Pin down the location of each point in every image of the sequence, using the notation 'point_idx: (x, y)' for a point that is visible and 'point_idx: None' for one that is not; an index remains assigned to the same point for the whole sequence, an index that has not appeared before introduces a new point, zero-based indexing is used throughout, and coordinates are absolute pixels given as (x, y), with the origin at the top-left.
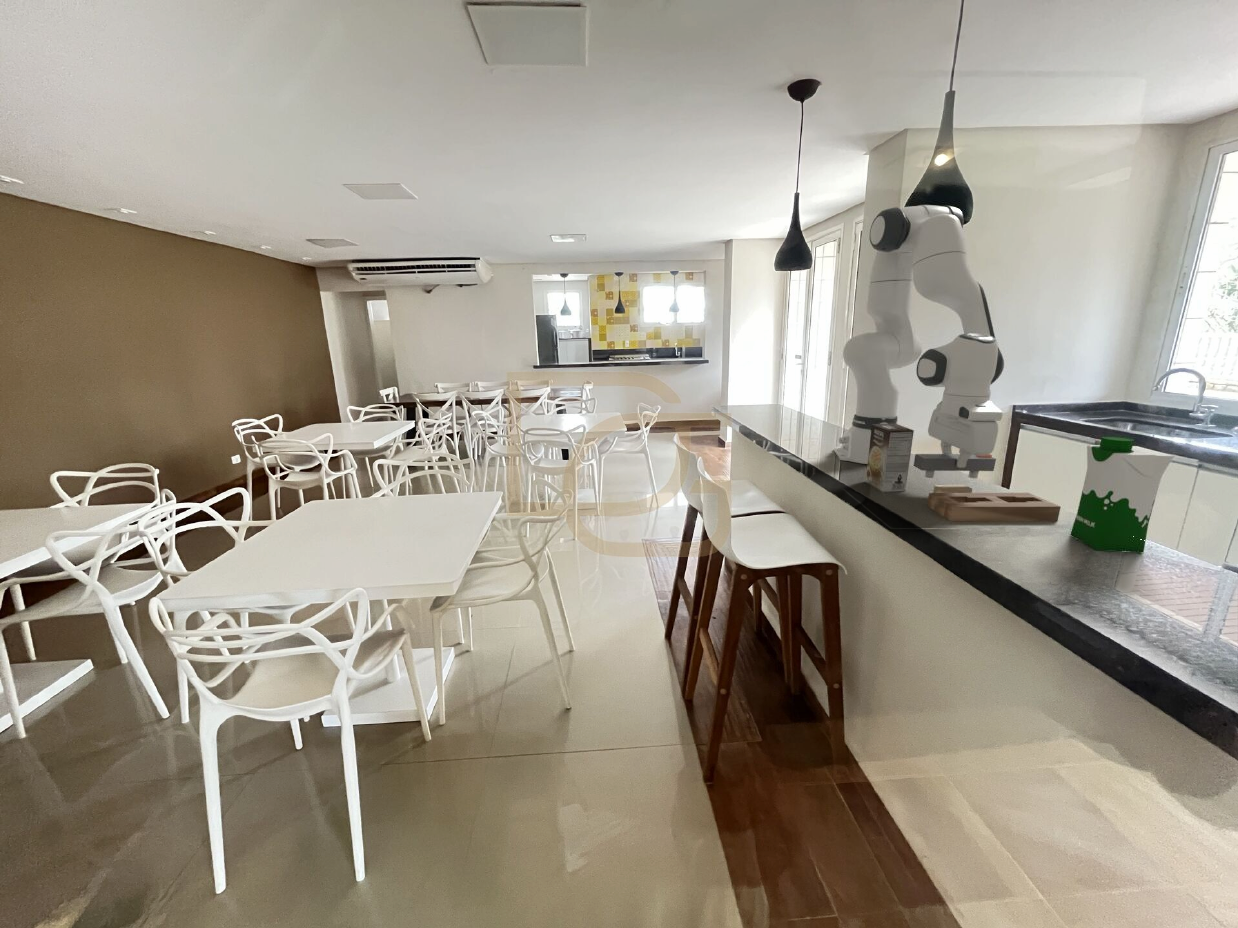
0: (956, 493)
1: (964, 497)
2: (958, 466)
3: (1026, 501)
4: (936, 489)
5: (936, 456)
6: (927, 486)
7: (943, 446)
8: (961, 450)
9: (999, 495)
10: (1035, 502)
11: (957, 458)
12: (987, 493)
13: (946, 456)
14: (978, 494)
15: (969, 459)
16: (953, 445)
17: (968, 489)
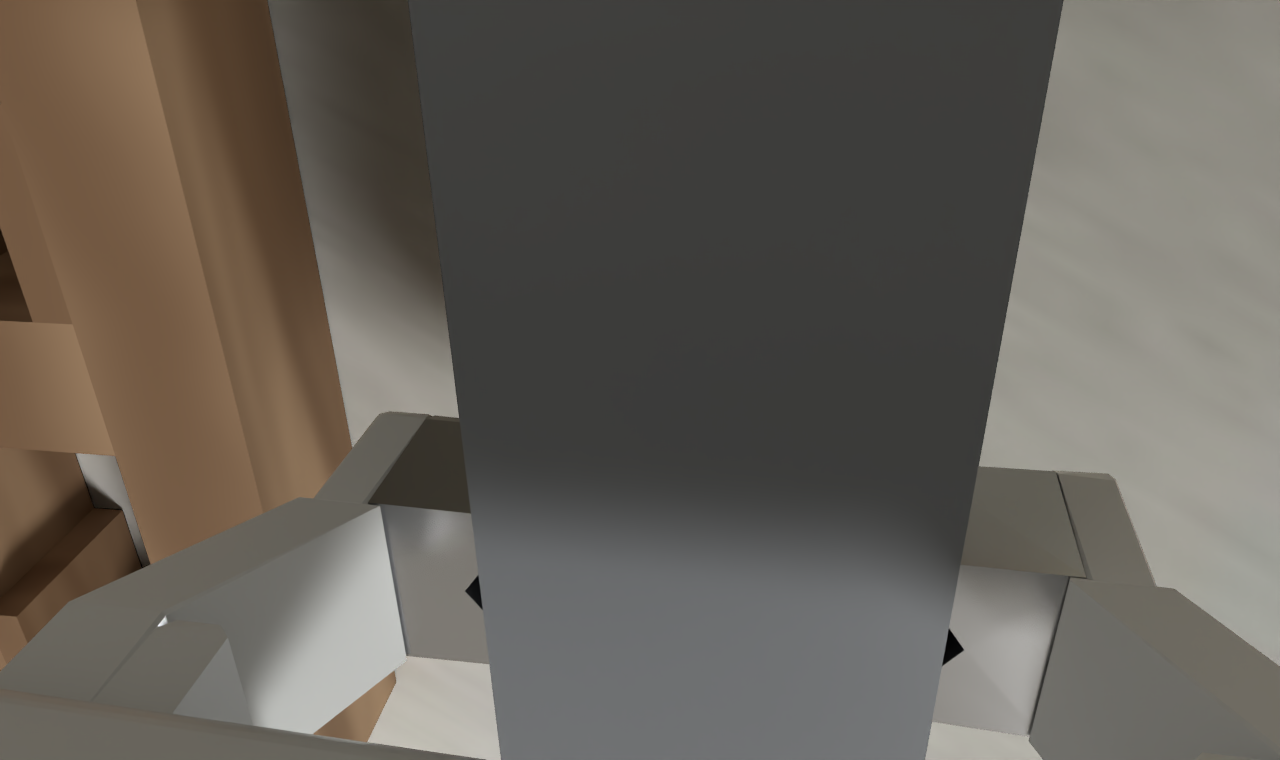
0: (120, 41)
1: (5, 74)
2: (389, 424)
3: (16, 620)
4: None
5: (681, 141)
6: (1255, 178)
7: (1239, 754)
8: (74, 697)
9: (163, 517)
10: (4, 665)
11: (494, 567)
12: (217, 445)
13: (681, 432)
14: (148, 319)
15: (511, 753)
16: (310, 747)
17: None
